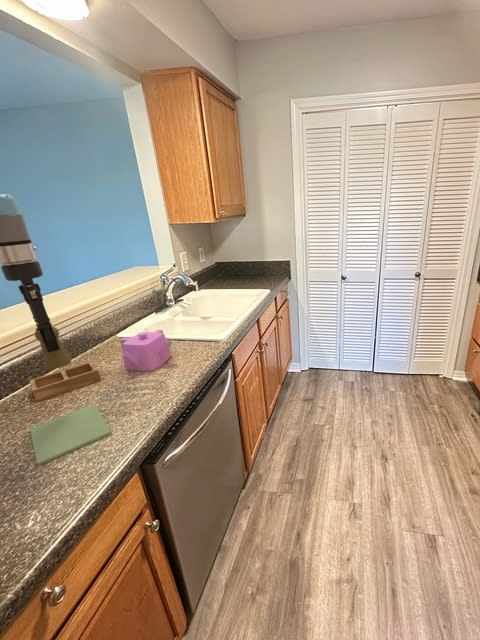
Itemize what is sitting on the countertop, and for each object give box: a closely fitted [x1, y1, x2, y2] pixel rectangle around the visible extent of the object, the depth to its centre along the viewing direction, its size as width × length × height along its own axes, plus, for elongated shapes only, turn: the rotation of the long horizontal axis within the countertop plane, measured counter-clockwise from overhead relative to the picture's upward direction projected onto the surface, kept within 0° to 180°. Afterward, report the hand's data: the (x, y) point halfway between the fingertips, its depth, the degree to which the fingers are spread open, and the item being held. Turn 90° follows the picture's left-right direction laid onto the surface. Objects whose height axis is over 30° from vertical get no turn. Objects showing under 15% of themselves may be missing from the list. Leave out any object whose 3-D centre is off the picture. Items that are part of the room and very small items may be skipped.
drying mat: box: [29, 403, 112, 466], centre depth 87 cm, size 18×16×1 cm
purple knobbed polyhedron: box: [120, 329, 173, 373], centre depth 122 cm, size 17×17×12 cm
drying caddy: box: [29, 360, 102, 403], centre depth 110 cm, size 10×18×4 cm, turn 132°
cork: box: [34, 325, 72, 370], centre depth 89 cm, size 6×6×11 cm
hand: (52, 347), depth 89 cm, fingers closed on cork, 5 cm apart
